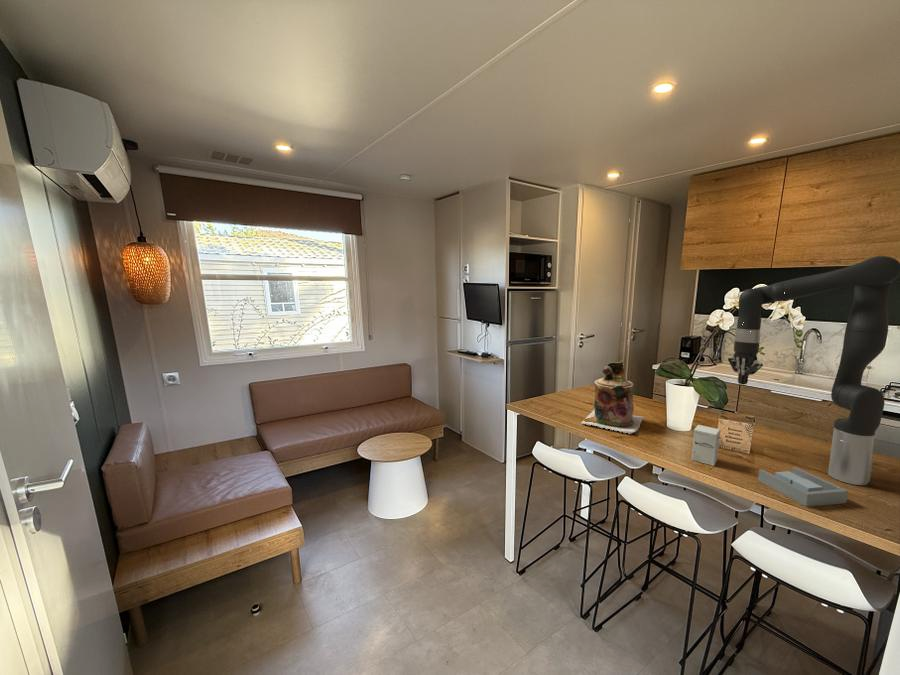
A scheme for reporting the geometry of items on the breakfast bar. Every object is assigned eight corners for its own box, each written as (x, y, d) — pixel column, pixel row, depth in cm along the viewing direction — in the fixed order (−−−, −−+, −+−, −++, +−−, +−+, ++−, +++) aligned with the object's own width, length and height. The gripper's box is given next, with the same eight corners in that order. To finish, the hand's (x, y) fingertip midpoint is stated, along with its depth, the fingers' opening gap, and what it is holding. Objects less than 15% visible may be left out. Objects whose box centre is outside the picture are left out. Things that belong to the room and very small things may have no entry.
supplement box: (690, 460, 138) (693, 429, 137) (695, 454, 144) (697, 423, 142) (714, 466, 133) (716, 434, 132) (718, 460, 138) (720, 428, 137)
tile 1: (787, 482, 122) (788, 471, 122) (803, 490, 117) (804, 478, 117) (774, 483, 122) (775, 472, 121) (789, 491, 117) (790, 479, 116)
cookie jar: (593, 411, 196) (596, 354, 191) (644, 420, 181) (647, 358, 177) (579, 425, 176) (581, 361, 172) (635, 436, 161) (638, 367, 157)
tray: (794, 477, 125) (795, 466, 124) (846, 503, 110) (848, 490, 109) (758, 480, 123) (759, 469, 123) (805, 506, 108) (807, 494, 108)
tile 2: (804, 490, 117) (805, 478, 117) (821, 498, 112) (822, 487, 112) (790, 491, 117) (791, 479, 116) (807, 500, 112) (808, 488, 111)
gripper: (772, 342, 132) (767, 388, 135) (739, 338, 145) (735, 379, 148) (755, 343, 131) (749, 388, 134) (723, 338, 144) (719, 380, 147)
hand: (742, 383), depth 141 cm, fingers closed
